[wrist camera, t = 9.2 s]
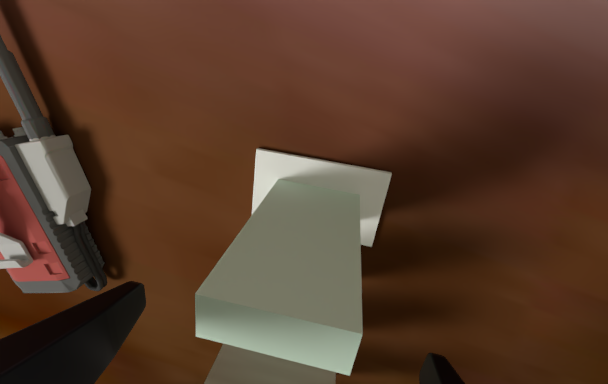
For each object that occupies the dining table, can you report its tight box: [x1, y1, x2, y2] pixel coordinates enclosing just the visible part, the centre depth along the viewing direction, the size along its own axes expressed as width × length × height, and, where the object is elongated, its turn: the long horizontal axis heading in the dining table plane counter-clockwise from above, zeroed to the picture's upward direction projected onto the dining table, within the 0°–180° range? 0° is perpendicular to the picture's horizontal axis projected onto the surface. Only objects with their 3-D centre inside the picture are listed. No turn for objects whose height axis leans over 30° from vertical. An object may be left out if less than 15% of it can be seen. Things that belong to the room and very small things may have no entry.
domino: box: [204, 344, 336, 384], centre depth 16 cm, size 2×5×10 cm, turn 82°
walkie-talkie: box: [0, 36, 107, 293], centre depth 19 cm, size 9×4×20 cm
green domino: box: [195, 179, 363, 376], centre depth 13 cm, size 2×5×10 cm, turn 82°
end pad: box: [252, 148, 392, 247], centre depth 18 cm, size 5×8×1 cm, turn 82°
